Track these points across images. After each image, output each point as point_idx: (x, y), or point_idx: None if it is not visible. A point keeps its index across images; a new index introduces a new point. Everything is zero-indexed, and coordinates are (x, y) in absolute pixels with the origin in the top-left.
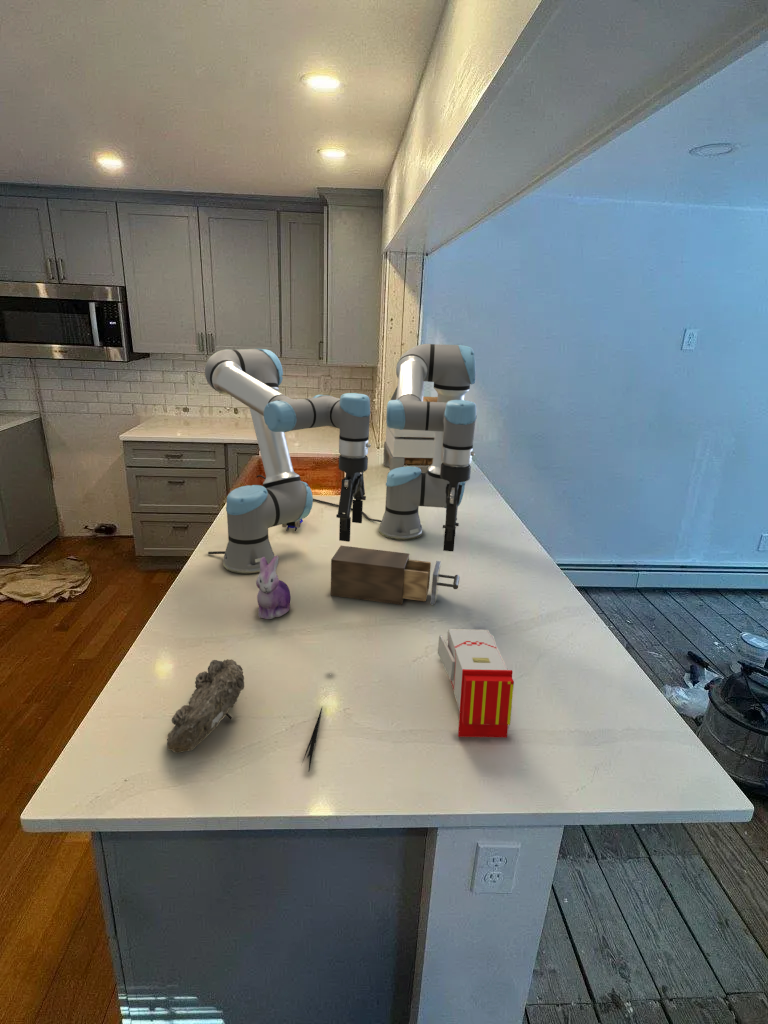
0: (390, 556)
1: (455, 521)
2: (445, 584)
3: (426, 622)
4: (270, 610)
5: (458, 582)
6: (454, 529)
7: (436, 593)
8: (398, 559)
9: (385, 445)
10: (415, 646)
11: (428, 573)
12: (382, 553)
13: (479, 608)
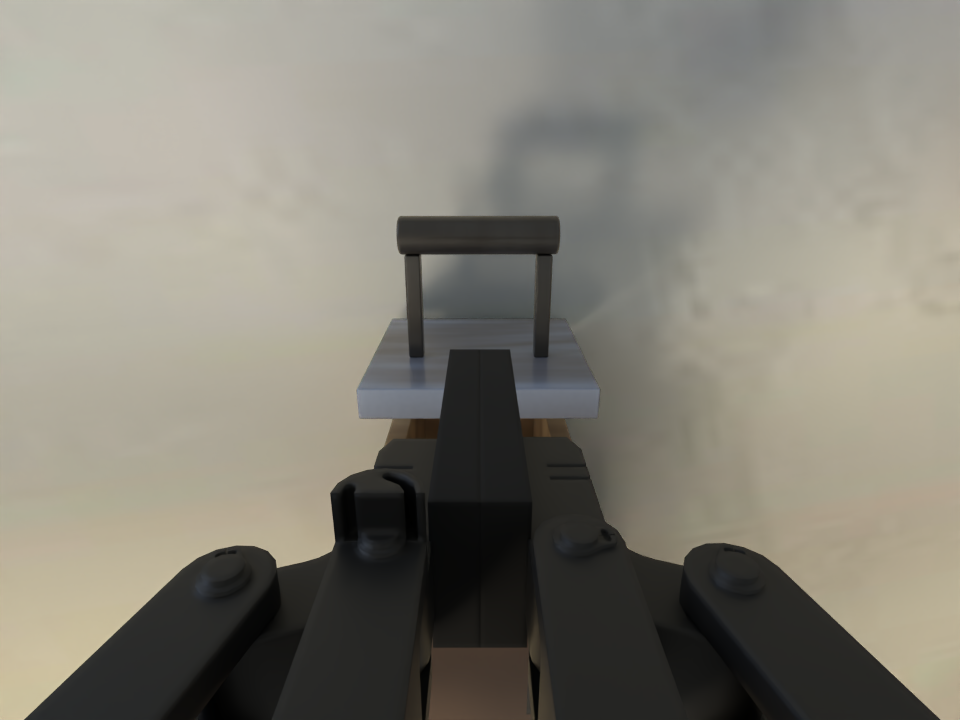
0: (444, 693)
1: (611, 636)
2: (550, 304)
3: (710, 335)
4: None
5: (500, 219)
6: (527, 506)
7: (516, 331)
8: (474, 648)
9: None
10: (923, 356)
11: (414, 421)
12: None
13: (505, 58)
